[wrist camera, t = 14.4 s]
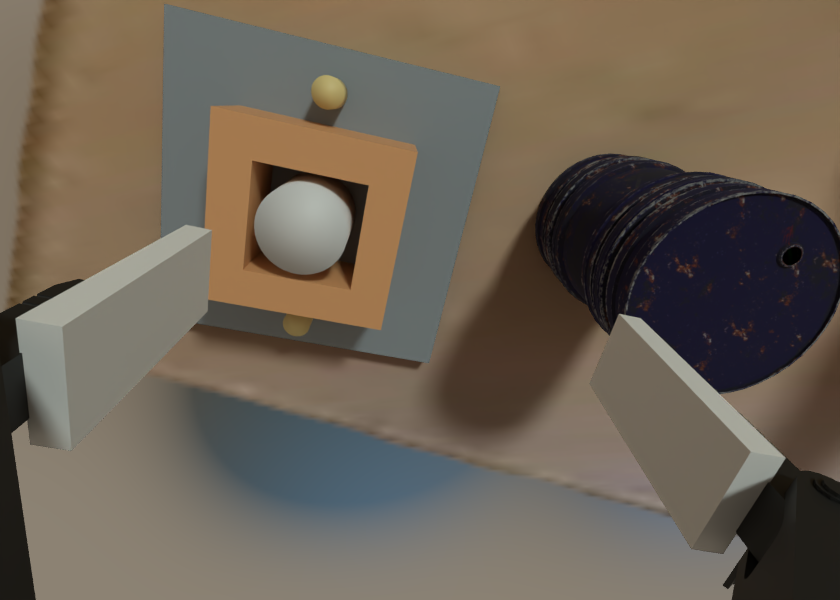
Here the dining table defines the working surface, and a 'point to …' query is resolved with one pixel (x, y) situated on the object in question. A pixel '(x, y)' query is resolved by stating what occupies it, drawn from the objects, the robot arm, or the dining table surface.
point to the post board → (370, 111)
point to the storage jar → (694, 262)
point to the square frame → (251, 182)
